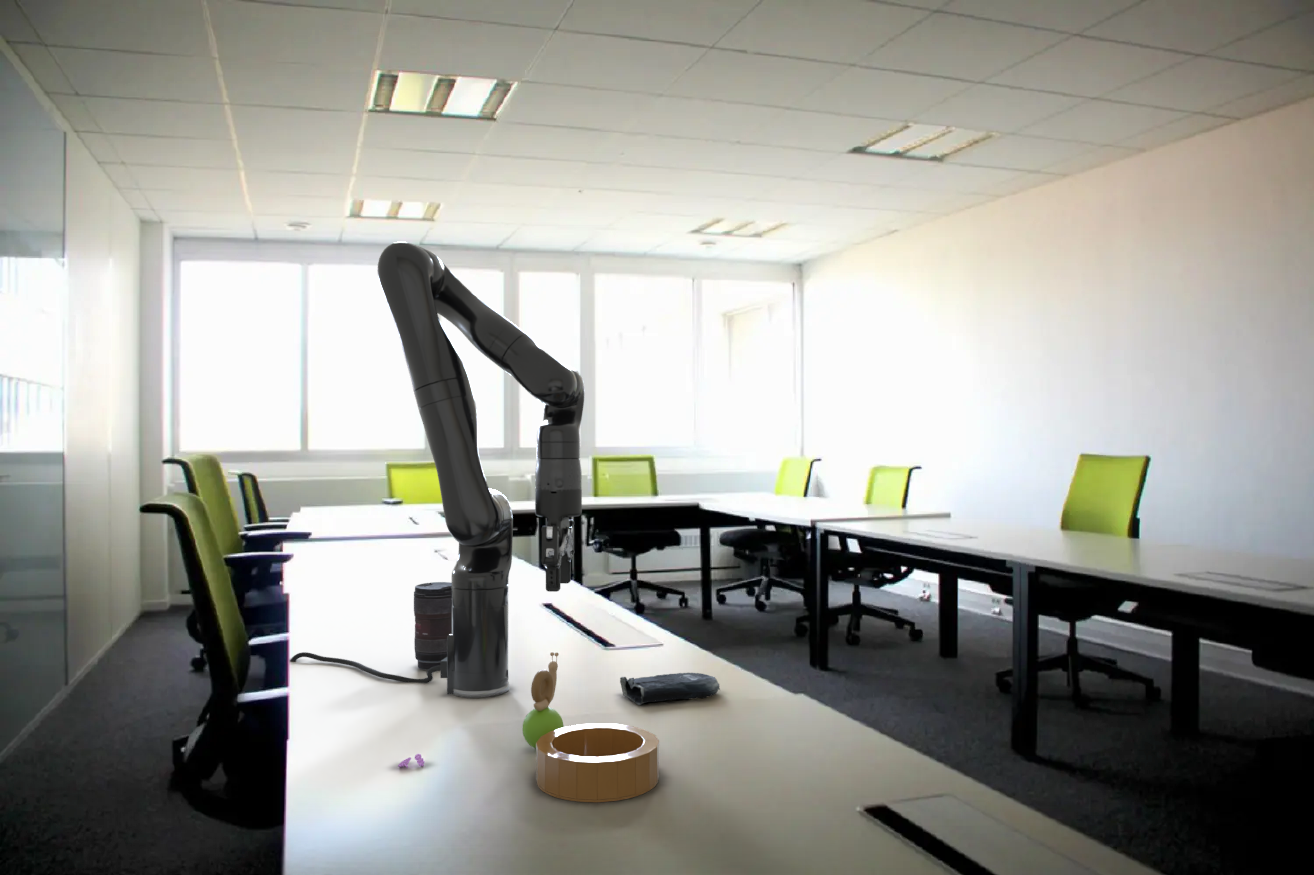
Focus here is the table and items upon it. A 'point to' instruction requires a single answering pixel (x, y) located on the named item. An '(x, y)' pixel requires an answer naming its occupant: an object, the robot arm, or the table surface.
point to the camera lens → (432, 622)
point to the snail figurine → (542, 705)
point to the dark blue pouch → (669, 687)
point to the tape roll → (597, 762)
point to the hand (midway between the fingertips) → (558, 587)
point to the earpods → (417, 757)
